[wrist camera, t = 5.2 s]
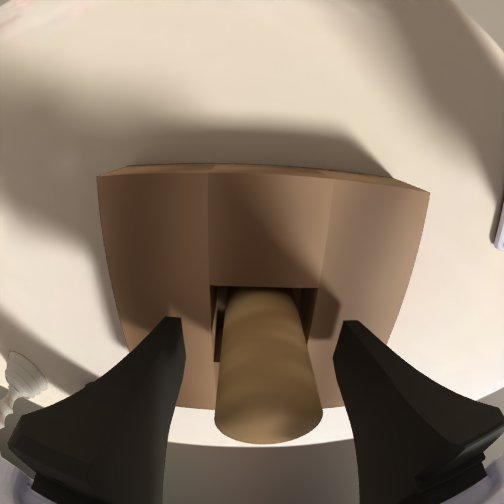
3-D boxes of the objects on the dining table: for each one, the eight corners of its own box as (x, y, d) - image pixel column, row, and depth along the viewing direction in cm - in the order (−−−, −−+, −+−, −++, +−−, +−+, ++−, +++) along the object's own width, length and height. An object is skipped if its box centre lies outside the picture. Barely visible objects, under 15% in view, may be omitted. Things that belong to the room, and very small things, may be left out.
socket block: (394, 178, 11) (430, 192, 9) (346, 369, 16) (358, 404, 13) (129, 165, 11) (96, 176, 8) (158, 366, 16) (147, 402, 13)
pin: (296, 267, 13) (337, 390, 6) (285, 320, 14) (306, 443, 7) (230, 260, 12) (216, 387, 6) (225, 315, 14) (213, 441, 7)
